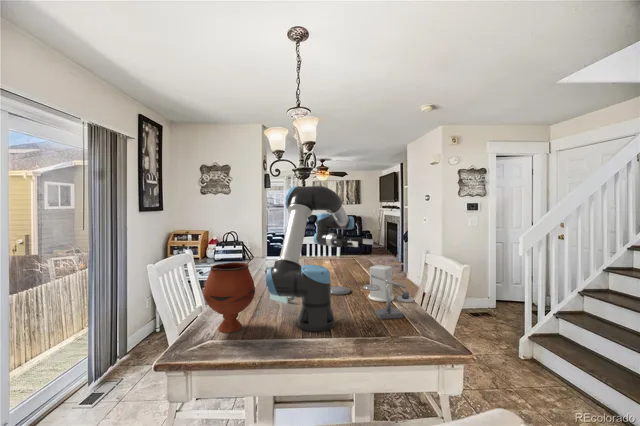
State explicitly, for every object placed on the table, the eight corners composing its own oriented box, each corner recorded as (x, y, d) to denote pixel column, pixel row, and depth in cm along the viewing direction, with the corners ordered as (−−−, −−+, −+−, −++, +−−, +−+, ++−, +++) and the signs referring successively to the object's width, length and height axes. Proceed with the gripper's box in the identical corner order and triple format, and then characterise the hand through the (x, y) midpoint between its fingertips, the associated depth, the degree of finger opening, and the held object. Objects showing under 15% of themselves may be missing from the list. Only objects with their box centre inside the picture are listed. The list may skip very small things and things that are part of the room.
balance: (365, 319, 129) (365, 276, 128) (361, 313, 136) (361, 272, 135) (416, 317, 131) (416, 274, 130) (409, 311, 138) (409, 271, 137)
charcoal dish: (328, 295, 162) (328, 293, 162) (325, 289, 175) (325, 286, 175) (352, 294, 164) (352, 292, 164) (347, 288, 176) (347, 286, 176)
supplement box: (392, 295, 159) (392, 266, 158) (386, 299, 151) (385, 269, 151) (376, 292, 164) (376, 264, 163) (369, 296, 156) (369, 267, 156)
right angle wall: (286, 304, 150) (286, 289, 150) (269, 300, 158) (269, 285, 158) (302, 298, 160) (302, 284, 160) (285, 294, 167) (285, 280, 167)
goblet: (260, 319, 130) (259, 260, 129) (248, 338, 111) (247, 270, 110) (215, 318, 131) (214, 260, 130) (196, 338, 111) (194, 270, 111)
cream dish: (372, 302, 150) (372, 300, 150) (365, 295, 163) (365, 292, 163) (397, 301, 152) (397, 299, 152) (389, 294, 165) (389, 291, 164)
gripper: (349, 244, 187) (378, 247, 173) (320, 248, 170) (350, 252, 155) (349, 232, 187) (378, 234, 172) (320, 235, 169) (350, 238, 155)
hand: (365, 243), depth 163 cm, fingers open, 13 cm apart
